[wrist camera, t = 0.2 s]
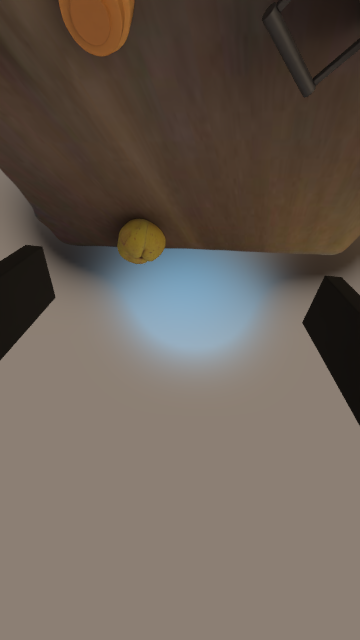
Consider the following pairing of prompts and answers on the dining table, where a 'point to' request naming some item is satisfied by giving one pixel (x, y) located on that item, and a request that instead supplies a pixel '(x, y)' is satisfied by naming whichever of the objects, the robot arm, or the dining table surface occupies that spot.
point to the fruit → (140, 241)
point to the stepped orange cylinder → (98, 23)
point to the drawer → (292, 54)
